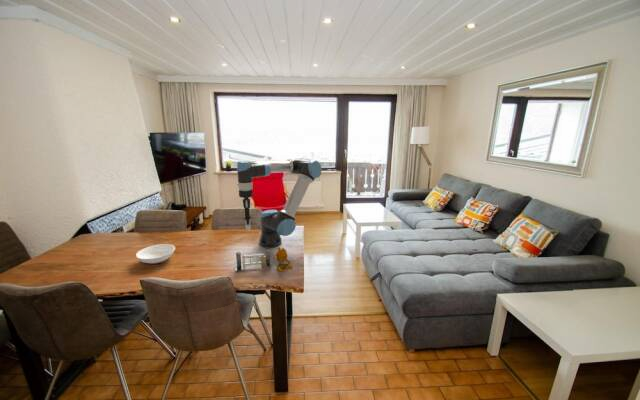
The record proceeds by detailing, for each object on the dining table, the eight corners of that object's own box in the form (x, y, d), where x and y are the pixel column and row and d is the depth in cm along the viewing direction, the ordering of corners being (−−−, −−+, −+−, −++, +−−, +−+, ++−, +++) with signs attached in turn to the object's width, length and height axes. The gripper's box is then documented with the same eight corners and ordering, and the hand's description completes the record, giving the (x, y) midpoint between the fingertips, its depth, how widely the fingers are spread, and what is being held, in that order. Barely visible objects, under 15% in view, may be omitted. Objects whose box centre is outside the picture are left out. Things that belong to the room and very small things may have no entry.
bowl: (135, 272, 143) (133, 262, 142) (139, 257, 160) (138, 247, 159) (176, 264, 152) (175, 254, 151) (176, 250, 169) (175, 241, 168)
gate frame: (235, 267, 149) (234, 251, 147) (270, 263, 154) (269, 248, 152) (235, 271, 145) (233, 255, 143) (270, 267, 150) (270, 251, 148)
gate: (243, 268, 148) (242, 256, 146) (243, 267, 149) (242, 255, 147) (265, 266, 151) (264, 254, 149) (264, 265, 152) (264, 253, 150)
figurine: (273, 264, 154) (273, 245, 151) (292, 263, 155) (292, 244, 152) (273, 272, 146) (272, 252, 143) (292, 271, 147) (292, 251, 144)
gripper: (238, 187, 151) (241, 226, 157) (238, 192, 138) (241, 234, 145) (252, 186, 153) (254, 225, 159) (253, 191, 140) (255, 233, 147)
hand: (248, 229), depth 152 cm, fingers closed
